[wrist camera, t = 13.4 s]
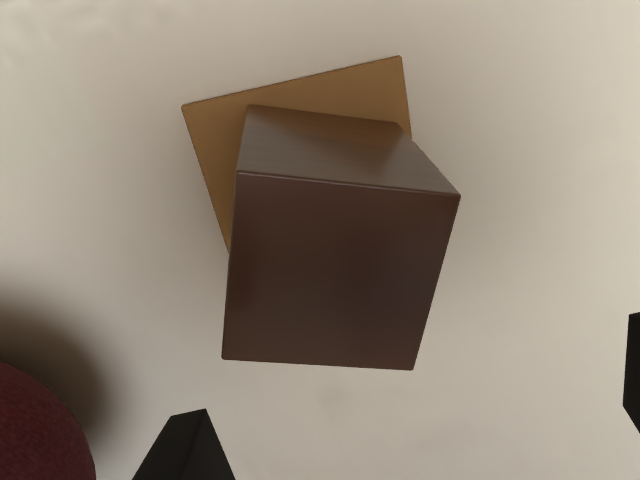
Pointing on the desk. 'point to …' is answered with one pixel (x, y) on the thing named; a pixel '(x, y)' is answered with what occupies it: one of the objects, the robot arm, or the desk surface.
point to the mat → (299, 94)
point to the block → (333, 241)
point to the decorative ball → (39, 433)
